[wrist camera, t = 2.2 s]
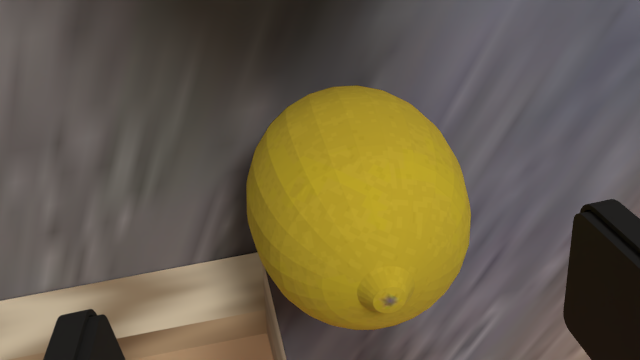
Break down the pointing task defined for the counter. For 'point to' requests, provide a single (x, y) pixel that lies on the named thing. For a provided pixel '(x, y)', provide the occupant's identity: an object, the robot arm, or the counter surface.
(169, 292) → the square wooden box
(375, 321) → the lemon
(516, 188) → the counter surface
